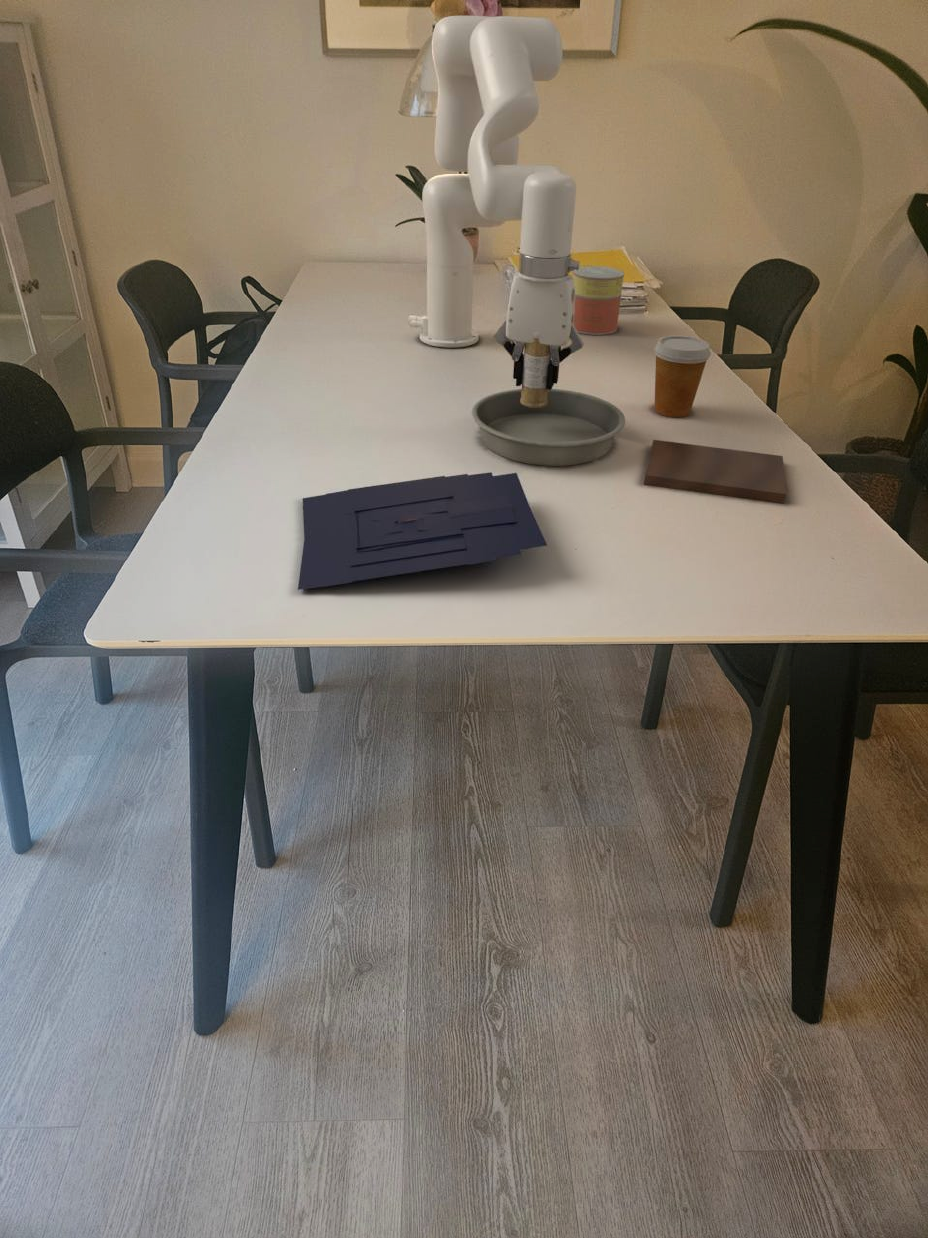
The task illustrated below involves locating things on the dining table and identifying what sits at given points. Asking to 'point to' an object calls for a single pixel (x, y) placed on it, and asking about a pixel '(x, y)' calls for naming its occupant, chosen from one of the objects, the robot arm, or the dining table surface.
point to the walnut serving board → (716, 471)
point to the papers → (414, 527)
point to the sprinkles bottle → (535, 373)
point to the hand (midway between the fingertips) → (535, 384)
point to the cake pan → (548, 427)
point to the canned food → (597, 299)
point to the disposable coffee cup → (678, 373)
